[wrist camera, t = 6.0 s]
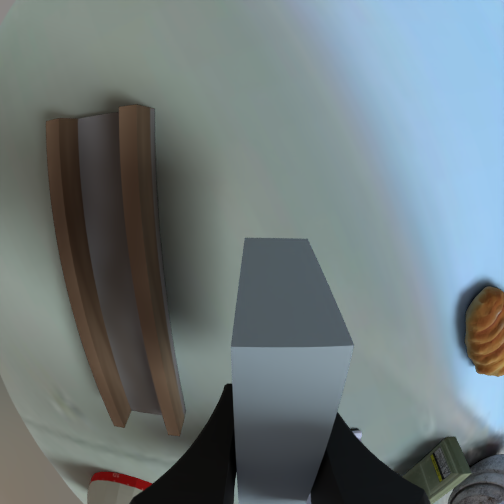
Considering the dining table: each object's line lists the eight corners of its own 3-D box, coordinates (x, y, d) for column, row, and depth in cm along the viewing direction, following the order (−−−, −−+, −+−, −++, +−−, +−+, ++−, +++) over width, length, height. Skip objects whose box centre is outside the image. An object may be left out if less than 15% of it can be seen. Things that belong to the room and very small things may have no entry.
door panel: (307, 238, 13) (353, 345, 6) (287, 430, 17) (294, 531, 10) (244, 237, 13) (231, 346, 6) (245, 430, 17) (240, 532, 10)
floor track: (154, 108, 17) (136, 104, 14) (185, 411, 25) (180, 436, 22) (71, 121, 17) (45, 121, 14) (124, 403, 25) (114, 425, 22)
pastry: (443, 319, 22) (465, 345, 18) (497, 263, 20) (525, 282, 16) (474, 369, 24) (491, 393, 20) (519, 323, 22) (540, 343, 19)
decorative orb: (473, 445, 29) (509, 522, 15) (525, 429, 30) (559, 488, 16) (423, 495, 34) (444, 562, 20) (479, 479, 35) (501, 534, 21)
